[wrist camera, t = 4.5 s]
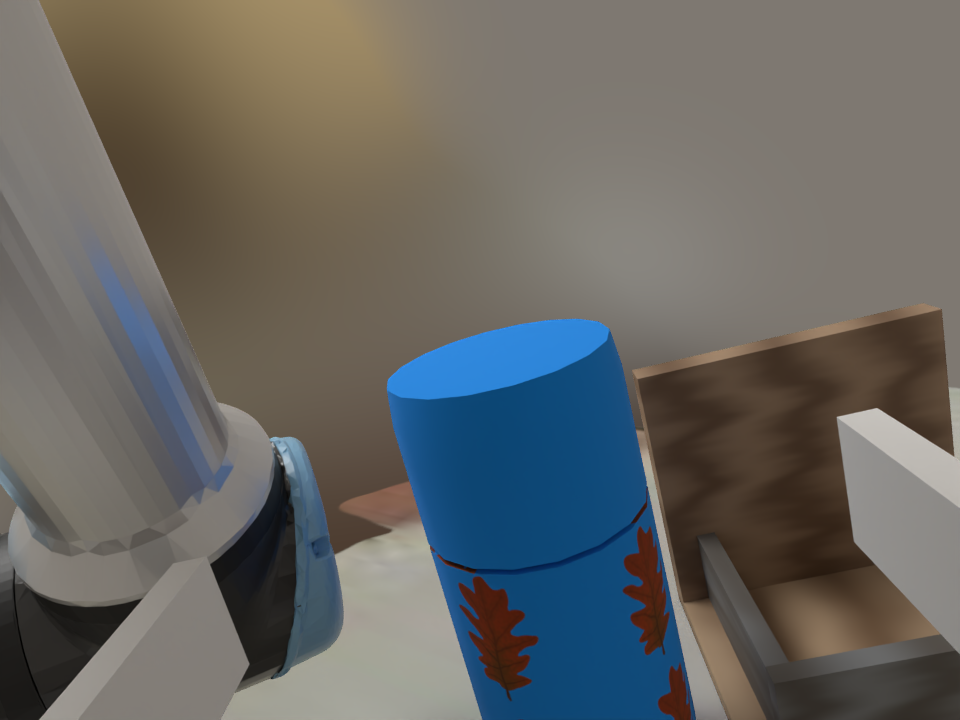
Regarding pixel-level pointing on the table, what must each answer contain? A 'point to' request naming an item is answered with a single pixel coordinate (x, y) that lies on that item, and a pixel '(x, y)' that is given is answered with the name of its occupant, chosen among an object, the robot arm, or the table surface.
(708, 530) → the mount board
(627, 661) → the thermos
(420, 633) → the table surface
